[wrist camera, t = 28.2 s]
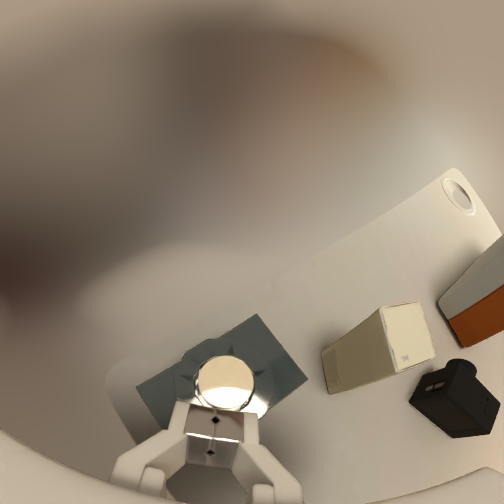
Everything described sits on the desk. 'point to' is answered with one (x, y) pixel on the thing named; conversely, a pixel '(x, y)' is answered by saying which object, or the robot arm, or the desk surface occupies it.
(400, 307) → the box
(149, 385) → the dispenser
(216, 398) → the cream short cylinder
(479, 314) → the alarm clock
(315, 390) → the desk surface
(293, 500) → the robot arm
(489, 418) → the digital camera
